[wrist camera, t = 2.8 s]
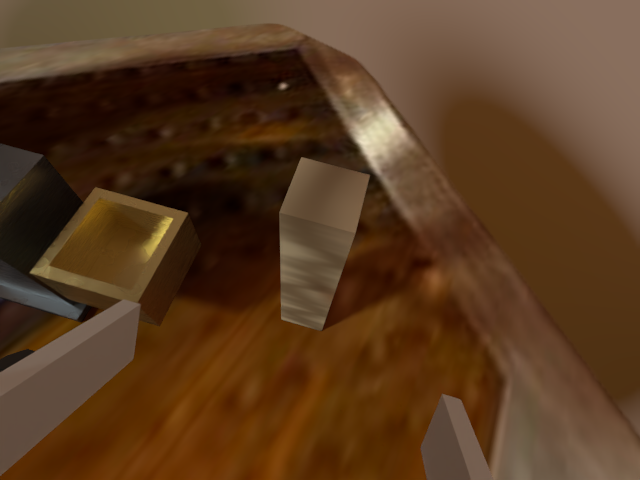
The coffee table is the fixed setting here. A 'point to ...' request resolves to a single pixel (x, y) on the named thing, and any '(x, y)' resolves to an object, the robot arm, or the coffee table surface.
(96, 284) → the bracket
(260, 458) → the coffee table surface
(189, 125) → the coffee table surface
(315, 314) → the block
